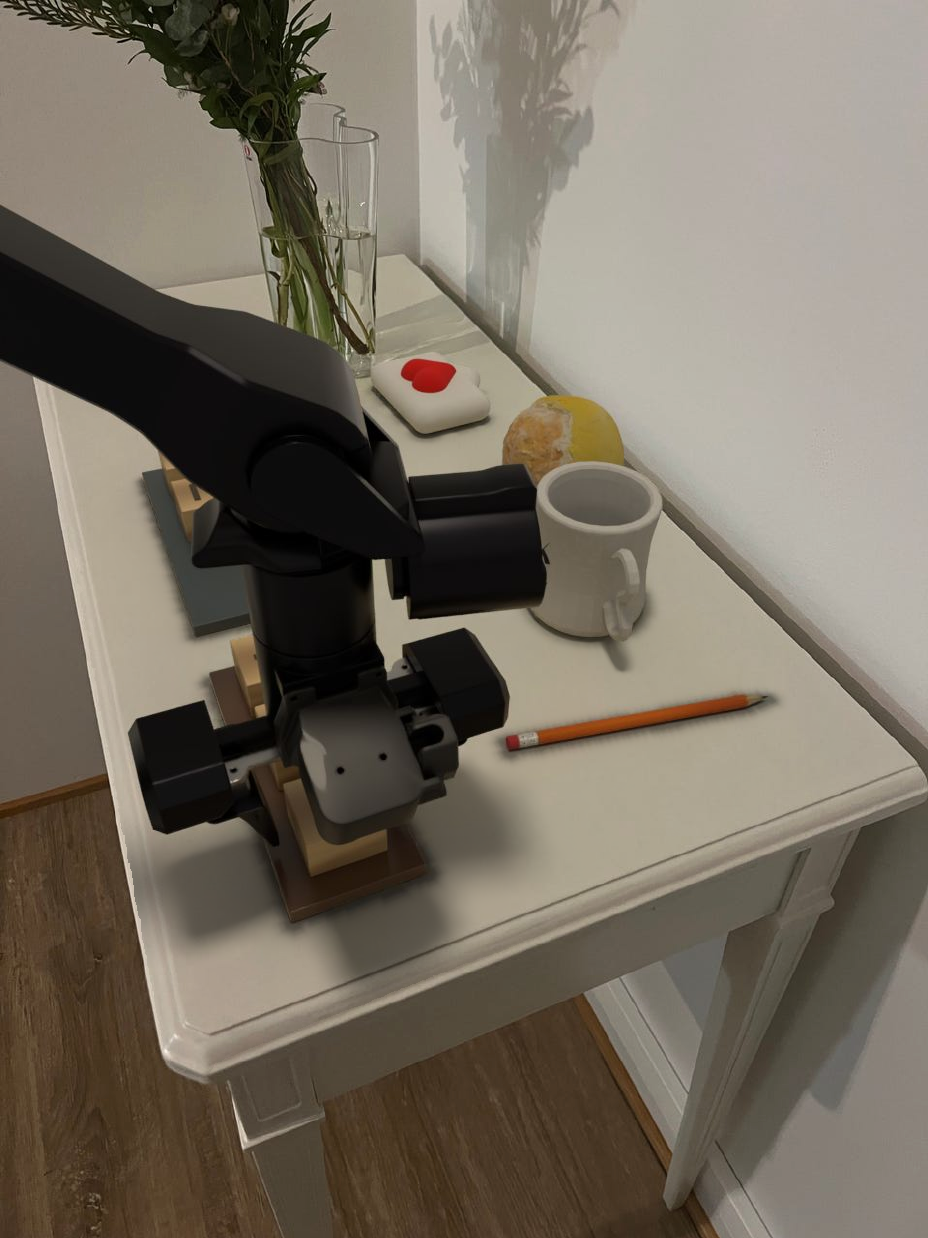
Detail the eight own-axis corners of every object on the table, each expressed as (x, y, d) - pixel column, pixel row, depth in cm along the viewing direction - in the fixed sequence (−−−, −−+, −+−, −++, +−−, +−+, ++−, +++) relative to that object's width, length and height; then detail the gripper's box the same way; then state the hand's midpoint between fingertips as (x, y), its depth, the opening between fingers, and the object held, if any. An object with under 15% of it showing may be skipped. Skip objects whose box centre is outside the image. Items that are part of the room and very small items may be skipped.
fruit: (554, 462, 87) (564, 362, 81) (641, 515, 81) (660, 412, 74) (471, 500, 82) (475, 397, 75) (557, 560, 76) (569, 454, 69)
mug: (510, 574, 75) (518, 466, 68) (617, 559, 76) (635, 453, 70) (560, 682, 66) (575, 571, 59) (679, 662, 67) (707, 552, 61)
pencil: (505, 742, 61) (505, 733, 61) (764, 696, 65) (767, 687, 65) (509, 752, 61) (509, 743, 60) (770, 705, 65) (773, 696, 64)
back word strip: (302, 609, 71) (297, 567, 68) (195, 637, 68) (186, 594, 65) (233, 463, 86) (226, 424, 83) (143, 481, 83) (134, 441, 80)
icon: (511, 378, 90) (418, 400, 86) (509, 418, 93) (418, 441, 89) (452, 329, 98) (365, 347, 94) (452, 367, 101) (366, 386, 97)
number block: (388, 850, 54) (386, 818, 52) (310, 878, 52) (305, 845, 50) (361, 791, 57) (359, 758, 55) (287, 815, 55) (282, 782, 53)
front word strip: (426, 874, 54) (426, 832, 51) (291, 923, 51) (283, 881, 48) (321, 652, 67) (317, 609, 65) (210, 682, 65) (201, 639, 62)
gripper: (136, 810, 35) (202, 1008, 45) (574, 675, 41) (544, 877, 51) (94, 625, 42) (160, 831, 53) (470, 534, 48) (462, 735, 59)
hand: (335, 820), depth 54 cm, fingers open, 7 cm apart
